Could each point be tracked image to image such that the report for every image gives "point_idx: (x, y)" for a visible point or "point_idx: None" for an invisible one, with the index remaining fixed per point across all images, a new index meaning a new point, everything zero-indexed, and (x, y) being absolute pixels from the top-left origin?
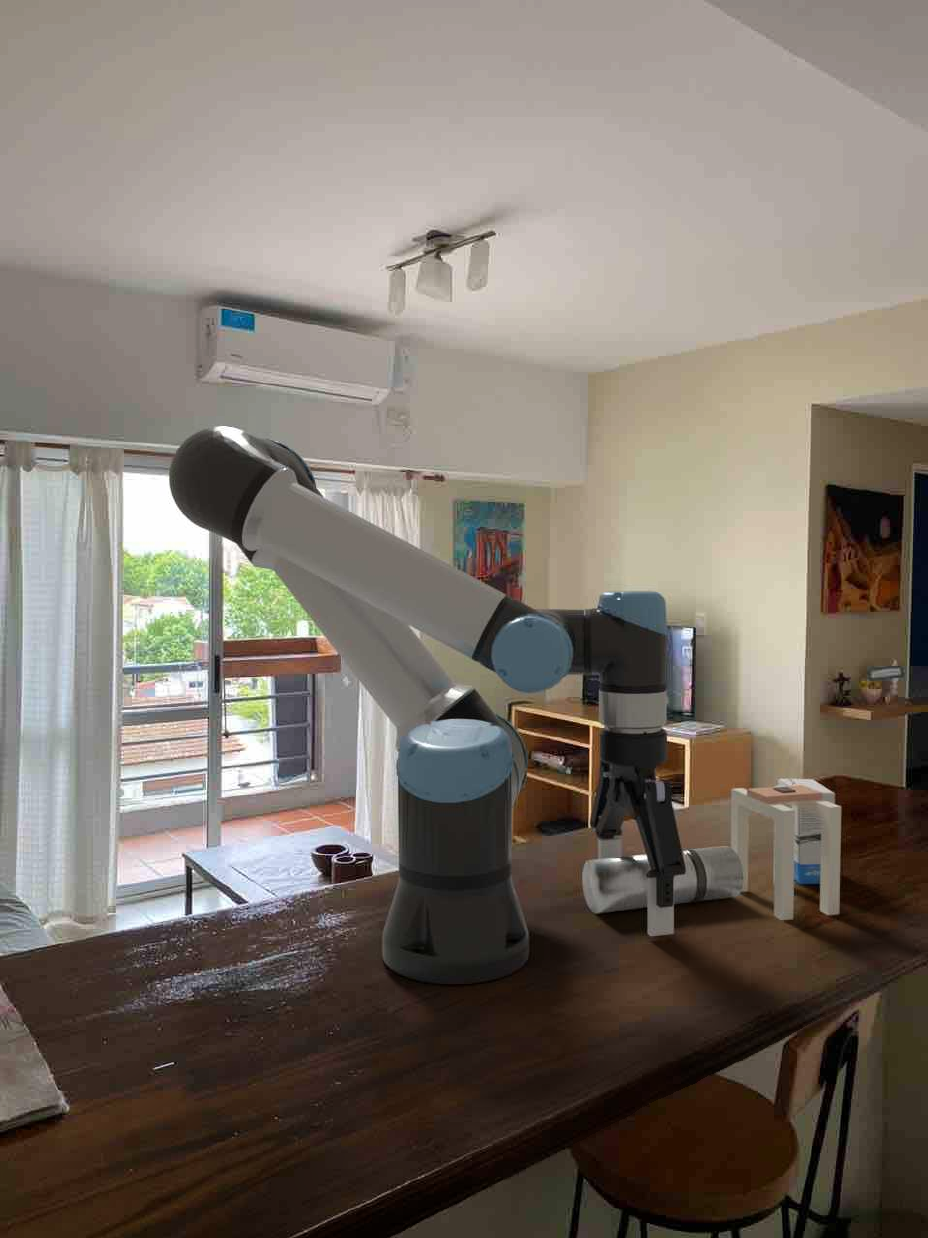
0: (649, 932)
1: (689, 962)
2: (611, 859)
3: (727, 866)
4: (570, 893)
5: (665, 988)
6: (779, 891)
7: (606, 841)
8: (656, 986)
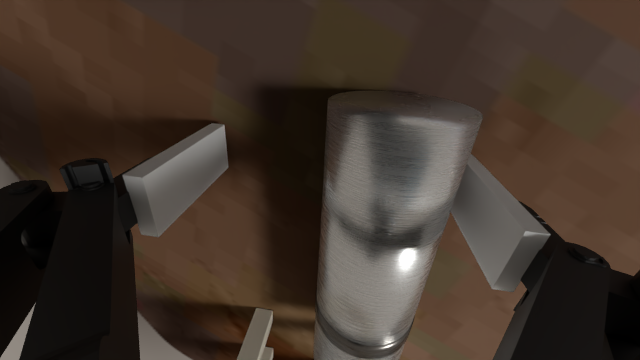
0: (212, 125)
1: (132, 133)
2: (395, 189)
3: (318, 353)
4: (531, 101)
5: (28, 36)
6: (248, 345)
7: (513, 247)
8: (33, 24)
